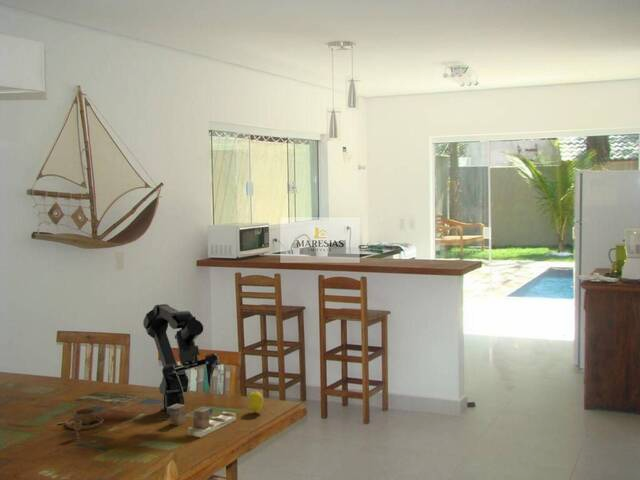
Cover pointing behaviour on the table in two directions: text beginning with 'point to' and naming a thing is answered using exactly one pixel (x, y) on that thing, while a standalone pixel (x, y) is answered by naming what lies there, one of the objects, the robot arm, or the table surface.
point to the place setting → (83, 420)
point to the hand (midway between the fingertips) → (196, 390)
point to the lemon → (255, 401)
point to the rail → (216, 426)
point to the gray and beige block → (177, 414)
